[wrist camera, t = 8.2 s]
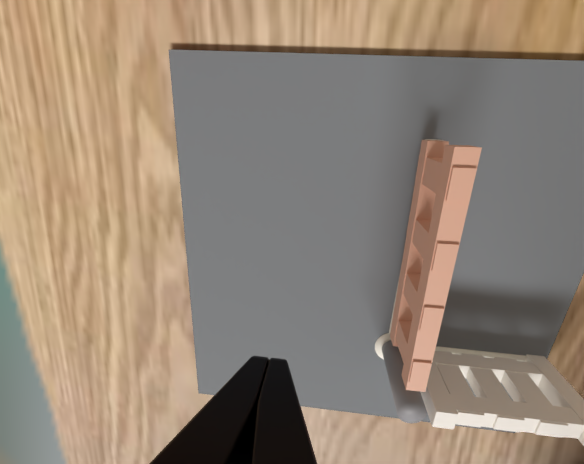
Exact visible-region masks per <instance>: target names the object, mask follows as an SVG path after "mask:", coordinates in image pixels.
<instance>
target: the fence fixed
mask: <svg viewBox="0 0 584 464" xmlns="http://www.w3.org/2000/svg"><path fill="white" fill-rule="evenodd" d="M526 356H527V357H526V359H525V362H524V361H517V360H516V359H511V358H501V357H494V358H486V357H483V356H482V355H473V354H464V353H461V355H458V354H452V353H451V352H445V351H436V350H435V353H434V357H433V361H432V366H431V370H430V374H429V379H428V383H427V387H426V392H421V391H420V393H421V395H422V398H423V401H424V404H425V407H426V410H427V413H428V416H429V419H430V422H431V425H432V427H439V428H447V429H454V427H455V424H456V425H464V426H472V427H480V428H481V427H489V428H493V429H496V430H504V431H512V432H528V433H535V434H536V435H544V436H552V437H560V438H563V437H568V438H576V439H578V440H579V441H580V442H581V444H582V445H583V446H584V399H583V398H582V397H581V396H580V394H579V393H578V392H577V391H576V390H575V389H574V388H573V387H572V386H571V385H570V384H569V382H568V381H567V380H566V379H565V378H564V377H563V376H562V375H561V374H560V373H559V372H558V371H557V369H556V368H555V367H554V366H553V365H552V364H551V363H550V362H549V361H548V360H547V359H546V357H545V356H538V355H528V354H527V355H526ZM466 379H467V381H468V383H469V384H470V386H471V388H472V390H473V392H474V394H475V396H476V397H475V396H474V394H473V392H472V390H471V389H470V387H469V385H468V383H467V381H466ZM501 383H502V385H503V386H504V388H505V389H506V391H507V392H508V394H509V395H510V397H511V398H512V400H513V401H512V400H511V398H510V397H509V395H508V394H507V392H506V391H505V389H504V388H503V386H502V385H501Z"/></svg>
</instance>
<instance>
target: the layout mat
mask: <svg viewBox="0 0 584 464" xmlns="http://www.w3.org/2000/svg"><path fill="white" fill-rule="evenodd" d="M169 59H170V70H171V81H172V93H173V104H174V116H175V127H176V139H177V150H178V162H179V173H180V184H181V196H182V207H183V219H184V230H185V242H186V253H187V265H188V276H189V287H190V299H191V310H192V322H193V333H194V345H195V356H196V368H197V379H198V390H199V393H202V394H210V395H215V394H216V393H217V392H218V391H219V390H220V389H221V388H222V387H223V386H224V385H225V384H226V383H227V382H228V381H229V380H230V379H231V377H232V376H233V375H234V374H235V373H236V372H237V371H238V370H239V369H240V368H241V367H242V366H243V365H244V364H245V363H246V362H247V361H248V360H249V358H250V357H252V356H263V357H268V358H269V360H270V358H280V359H286V360H287V362H288V365H289V368H290V372H291V375H292V379H293V382H294V386H295V389H296V393H297V396H298V400H299V403H300V406H305V407H313V408H321V409H329V410H336V411H344V412H352V413H360V414H368V415H376V416H384V417H392V418H399V417H398V416H397V412H396V408H395V403H394V399H393V395H392V391H391V387H390V382H389V378H388V374H387V370H386V366H385V362H384V357H383V353H382V346H383V344H384V343H385V342H387V341H390V340H391V338H390V332H391V326H392V319H393V313H394V308H395V302H396V295H397V289H398V282H399V276H400V270H401V264H402V259H403V253H404V246H405V240H406V233H407V227H408V221H409V215H410V210H411V204H412V197H413V191H414V185H415V178H416V172H417V166H418V160H419V155H420V148H421V142H422V140H443V141H449V145H471V146H476V147H482V150H481V154H480V158H479V163H478V167H477V171H476V176H475V180H474V184H473V189H472V193H471V197H470V202H469V206H468V210H467V214H466V219H465V223H464V227H463V232H462V236H461V240H460V245H459V249H458V253H457V258H456V262H455V266H454V271H453V275H452V279H451V284H450V288H449V292H448V297H447V301H446V305H445V310H444V314H443V318H442V322H441V327H440V331H439V335H438V340H437V344H436V348H435V350H436V351H445V352H451V353H452V354H458V355H461V353H464V354H473V355H482V356H483V357H486V358H494V357H501V358H511V359H516V360H517V361H524V362H525V359H526V357H527V356H526V355H527V354H528V355H538V356H545V357H546V359H547V358H548V355H549V353H550V351H551V348H552V346H553V344H554V341H555V339H556V336H557V334H558V332H559V329H560V327H561V325H562V322H563V320H564V318H565V315H566V313H567V311H568V308H569V306H570V304H571V301H572V299H573V297H574V294H575V292H576V290H577V287H578V285H579V283H580V280H581V278H582V276H583V273H584V61H574V60H537V59H500V58H463V57H426V56H389V55H353V54H316V53H279V52H242V51H205V50H169ZM466 381H467V379H466ZM467 383H468V381H467ZM468 385H469V387H470V389H471V390H472V388H471V386H470V384H469V383H468ZM501 385H502V383H501ZM502 386H503V385H502ZM503 388H504V386H503ZM504 389H505V388H504ZM505 391H506V389H505ZM472 392H473V390H472ZM506 392H507V391H506ZM473 394H474V392H473ZM507 394H508V392H507ZM508 395H509V394H508ZM421 396H422V395H421ZM474 396H475V394H474ZM475 397H476V396H475ZM509 397H510V395H509ZM510 398H511V397H510ZM422 399H423V398H422ZM511 400H512V398H511ZM512 401H513V400H512ZM422 421H424V422H430V419H429V416H428V413H427V415H426V417H425V418H424V419H423V420H422ZM455 426H463V427H471V428H479V429H487V430H495V431H503V432H511V433H515V432H512V431H504V430H496V429H493V428H489V427H481V428H480V427H472V426H464V425H456V424H455Z"/></svg>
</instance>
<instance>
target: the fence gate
mask: <svg viewBox="0 0 584 464" xmlns="http://www.w3.org/2000/svg"><path fill="white" fill-rule="evenodd" d="M481 150H482V147H476V146H471V145H449V141H443V140H422V142H421V148H420V155H419V160H418V166H417V172H416V178H415V185H414V191H413V197H412V204H411V210H410V215H409V221H408V227H407V233H406V240H405V246H404V253H403V259H402V264H401V270H400V276H399V282H398V289H397V295H396V302H395V308H394V313H393V319H392V326H391V332H390V338H391V340H390V341H387V342H385V343H384V344H383V346H382V353H383V357H384V362H385V366H386V370H387V374H388V378H389V382H390V387H391V391H392V395H393V399H394V403H395V408H396V412H397V416H398V417H399V419H401V420H402V421H404V422H406V423H417V422H420V421H422V420H423V419H424V418H425V417H426V415H427V410H426V407H425V404H424V401H423V399H422V396H421V393H420V391H421V392H426V387H427V383H428V379H429V374H430V370H431V366H432V361H433V357H434V353H435V348H436V344H437V340H438V335H439V331H440V327H441V322H442V318H443V314H444V310H445V305H446V301H447V297H448V292H449V288H450V284H451V279H452V275H453V271H454V266H455V262H456V258H457V253H458V249H459V245H460V240H461V236H462V232H463V227H464V223H465V219H466V214H467V210H468V206H469V202H470V197H471V193H472V189H473V184H474V180H475V176H476V171H477V167H478V163H479V158H480V154H481Z"/></svg>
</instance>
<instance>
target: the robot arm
mask: <svg viewBox="0 0 584 464" xmlns="http://www.w3.org/2000/svg"><path fill="white" fill-rule="evenodd" d="M150 464H317V462H316V458H315V455H314V451H313V448H312V444H311V441H310V438H309V434H308V431H307V427H306V424H305V420H304V417H303V413H302V410H301V406H300V403H299V400H298V396H297V393H296V389H295V386H294V382H293V379H292V375H291V372H290V368H289V365H288V362H287V360H286V359H280V358H270V360H269V358H268V357H263V356H252V357H250V358H249V360H248V361H247V362H246V363H245V364H244V365H243V366H242V367H241V368H240V369H239V370H238V371H237V372H236V373H235V374H234V375H233V376H232V377H231V379H230V380H229V381H228V382H227V383H226V384H225V385H224V386H223V387H222V388H221V389H220V390H219V391H218V392H217V393H216V394H215V395H214V396H213V397H212V399H211V400H210V401H209V402H208V403H207V404H206V405H205V406H204V407H203V408H202V409H201V410H200V411H199V412H198V413H197V414H196V415H195V416H194V417H193V419H192V420H191V421H190V422H189V423H188V424H187V425H186V426H185V427H184V428H183V429H182V430H181V431H180V432H179V433H178V434H177V435H176V436H175V437H174V439H173V440H172V441H171V442H170V443H169V444H168V445H167V446H166V447H165V448H164V449H163V450H162V451H161V452H160V453H159V454H158V455H157V456H156V457H155V459H154V460H153V461H152V462H151V463H150Z"/></svg>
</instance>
